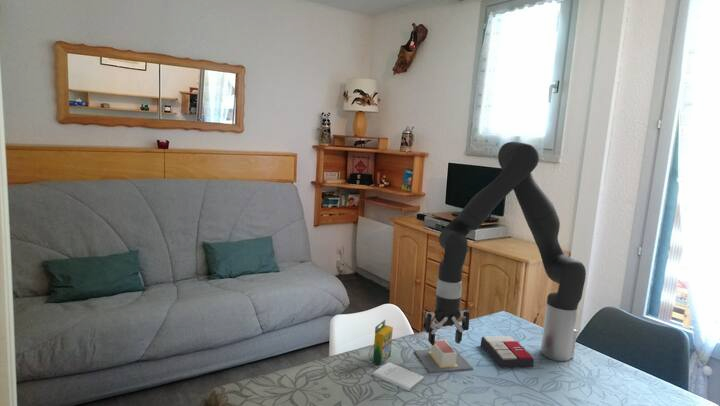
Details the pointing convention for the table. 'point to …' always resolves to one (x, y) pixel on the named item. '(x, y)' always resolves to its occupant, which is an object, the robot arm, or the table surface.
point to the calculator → (506, 352)
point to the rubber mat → (435, 366)
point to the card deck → (444, 353)
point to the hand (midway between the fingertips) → (444, 343)
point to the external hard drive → (399, 376)
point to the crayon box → (382, 343)
